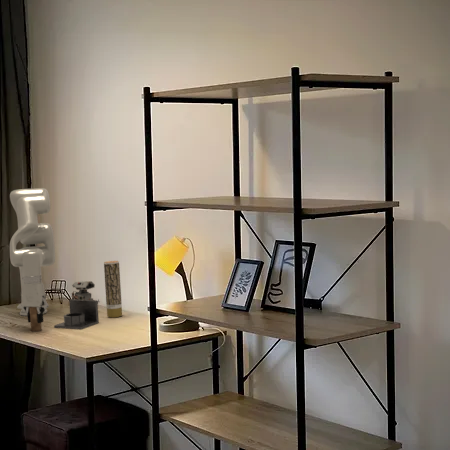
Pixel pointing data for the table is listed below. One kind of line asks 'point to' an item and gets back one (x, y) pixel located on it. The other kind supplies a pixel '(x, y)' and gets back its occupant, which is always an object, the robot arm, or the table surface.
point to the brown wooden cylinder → (34, 319)
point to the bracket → (80, 315)
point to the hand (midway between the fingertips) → (35, 321)
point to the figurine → (83, 290)
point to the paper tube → (113, 289)
